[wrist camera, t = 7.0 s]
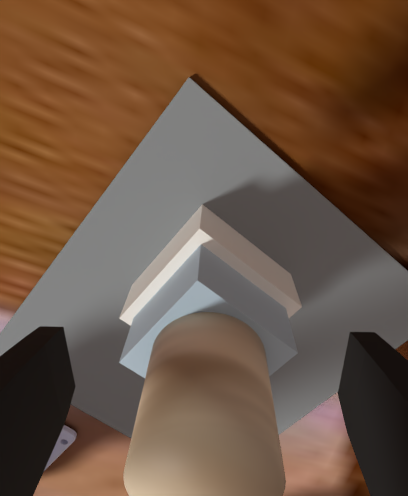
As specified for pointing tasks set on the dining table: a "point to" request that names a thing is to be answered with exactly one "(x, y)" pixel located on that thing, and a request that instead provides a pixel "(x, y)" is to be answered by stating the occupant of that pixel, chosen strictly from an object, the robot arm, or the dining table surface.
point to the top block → (210, 310)
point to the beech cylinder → (206, 414)
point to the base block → (223, 246)
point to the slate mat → (240, 219)
